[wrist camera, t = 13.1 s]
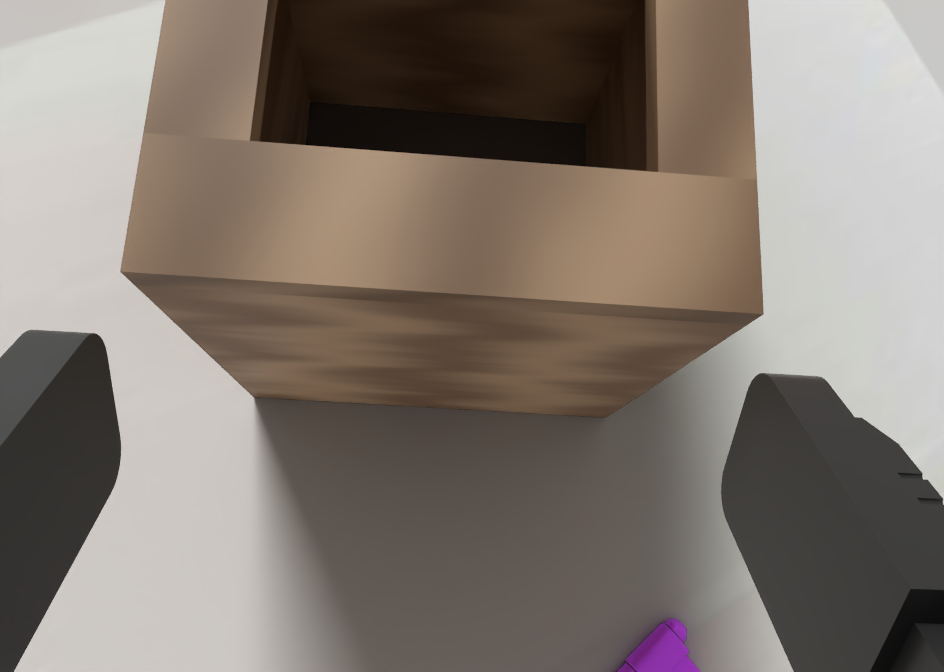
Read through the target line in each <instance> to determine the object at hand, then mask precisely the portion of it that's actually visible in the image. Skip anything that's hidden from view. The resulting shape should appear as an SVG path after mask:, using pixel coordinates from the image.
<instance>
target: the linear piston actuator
mask: <svg viewBox="0 0 944 672" xmlns="http://www.w3.org/2000/svg"><path fill="white" fill-rule="evenodd" d="M686 638H687V629H686V627H685V626H684V625H683V624H682V623H681V622H680V621H679V620H677V619H668V620H667V621H666V622H665V623H661V624H660V625H659V626H658V627H657V628H656V629H655V630H654V631H653V632H652V633H651V634H650V635H649V636H648V637H647V638H646V639H645V640H644V641H643V642H642V643H641V644H640V645H639V646H638V647H637V648H636V649H635V650H634V651H633V652H632V653H631V654H630V655H629V656H628V657H627V658H626V659H625V661H626V662H625V664H624V665H623V666H622V667H621V668H620V669H619V670H618V671H617V672H700V671H699V670H698V669H697V667H696V666H695V665H694V664H693V663H692V661H691V660H690V659H689V658H688V657H687V654H688V653H689V650H688V649H687V647H686V646H685V645H684V644H683V642H684V641H685V640H686Z"/></svg>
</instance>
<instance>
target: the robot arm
mask: <svg viewBox="0 0 944 672" xmlns="http://www.w3.org/2000/svg"><path fill="white" fill-rule="evenodd" d="M120 458H121V440H120V433H119V426H118V420H117V414H116V407H115V401H114V395H113V389H112V382H111V376H110V370H109V363H108V357H107V352H106V348H105V345H104V342H103V340H102V339H101V337H100V336H99V335H97V334H94V333H78V332H61V331H43V330H28V331H26V332H25V333H23V334H22V335H21V336H20V337H19V338H18V339H17V340H16V342H15V343H14V344H13V345H12V346H11V347H10V348H9V349H8V350H7V351H6V352H5V353H4V354H3V355H2V357H1V358H0V672H14V670H15V668H16V666H17V665H18V663H19V661H20V659H21V657H22V655H23V654H24V652H25V650H26V648H27V646H28V644H29V643H30V641H31V639H32V637H33V635H34V633H35V632H36V630H37V628H38V626H39V624H40V622H41V621H42V619H43V617H44V615H45V613H46V611H47V610H48V608H49V606H50V604H51V602H52V600H53V599H54V597H55V595H56V593H57V591H58V589H59V587H60V586H61V584H62V582H63V580H64V578H65V576H66V575H67V573H68V571H69V569H70V567H71V565H72V564H73V562H74V560H75V558H76V556H77V554H78V553H79V551H80V549H81V547H82V545H83V543H84V542H85V540H86V538H87V536H88V534H89V532H90V531H91V529H92V527H93V525H94V523H95V521H96V520H97V518H98V516H99V514H100V512H101V510H102V509H103V507H104V505H105V503H106V501H107V499H108V498H109V496H110V494H111V492H112V490H113V488H114V485H115V482H116V479H117V476H118V471H119V466H120ZM721 494H722V505H723V510H724V514H725V518H726V520H727V523H728V525H729V527H730V529H731V532H732V534H733V536H734V538H735V541H736V543H737V545H738V547H739V550H740V552H741V554H742V556H743V559H744V561H745V563H746V565H747V568H748V570H749V572H750V574H751V577H752V579H753V581H754V583H755V586H756V588H757V590H758V592H759V594H760V597H761V599H762V601H763V603H764V606H765V608H766V610H767V612H768V615H769V617H770V619H771V621H772V624H773V626H774V628H775V630H776V633H777V635H778V637H779V639H780V642H781V644H782V646H783V648H784V651H785V653H786V655H787V657H788V660H789V662H790V664H791V666H792V669H793V671H794V672H944V505H943V502H942V501H943V498H942V497H941V496H940V495H939V493H938V492H937V491H936V490H935V488H934V487H933V486H932V485H931V484H930V482H929V481H928V480H923V479H922V472H921V471H920V470H919V469H918V468H917V466H916V465H915V464H914V463H913V461H912V460H911V459H910V458H909V456H908V455H907V454H906V453H905V452H904V450H903V449H902V448H901V447H900V445H899V444H898V443H896V442H895V441H893V440H892V439H891V438H889V437H888V436H886V435H885V434H884V433H882V432H881V431H879V430H878V429H877V428H875V427H874V426H872V425H871V424H870V423H868V422H867V421H865V420H864V419H863V418H855V417H854V416H853V415H852V413H851V412H850V411H849V409H848V408H847V407H846V406H845V404H844V403H843V402H842V400H841V399H840V398H839V397H838V395H837V394H836V393H835V391H834V390H833V389H832V387H831V386H830V385H829V384H828V382H827V381H826V380H825V379H823V378H822V377H818V376H802V375H784V374H767V373H761V374H758V375H757V376H756V377H755V378H754V379H753V380H752V382H751V384H750V386H749V388H748V391H747V394H746V398H745V401H744V404H743V408H742V411H741V414H740V417H739V421H738V424H737V427H736V431H735V434H734V437H733V441H732V444H731V447H730V451H729V454H728V457H727V460H726V464H725V467H724V471H723V476H722V487H721Z"/></svg>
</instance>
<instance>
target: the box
mask: <svg viewBox="0 0 944 672" xmlns="http://www.w3.org/2000/svg"><path fill="white" fill-rule="evenodd" d="M310 102H317V103H329V104H342V105H354V106H367V107H380V108H392V109H405V110H417V111H430V112H442V113H455V114H468V115H480V116H493V117H505V118H518V119H530V120H543V121H555V122H568V123H581V124H586V167H585V166H572V165H558V164H545V163H532V162H519V161H506V160H493V159H480V158H467V157H454V156H441V155H428V154H414V153H401V152H388V151H375V150H362V149H349V148H336V147H323V146H310V145H306V136H307V126H308V117H309V108H310ZM120 272H121V273H122V274H123V275H125V276H126V277H127V278H128V279H129V280H130V281H131V282H132V283H133V284H134V285H135V286H136V287H137V288H138V289H139V290H140V291H142V292H143V293H144V294H145V295H146V296H147V297H148V298H149V299H150V300H151V301H152V302H153V303H154V304H155V305H156V306H157V307H159V308H160V309H161V310H162V311H163V312H164V313H165V314H166V315H167V316H168V317H169V318H170V319H171V320H172V321H173V322H174V323H176V324H177V325H178V326H179V327H180V328H181V329H182V330H183V331H184V332H185V333H186V334H187V335H188V336H189V337H190V338H191V339H192V340H194V341H195V342H196V343H197V344H198V345H199V346H200V347H201V348H202V349H203V350H204V351H205V352H206V353H207V354H208V355H209V356H211V357H212V358H213V359H214V360H215V361H216V362H217V363H218V364H219V365H220V366H221V367H222V368H223V369H224V370H225V371H226V372H228V373H229V374H230V375H231V376H232V377H233V378H234V379H235V380H236V381H237V382H238V383H239V384H240V385H241V386H242V387H243V388H245V389H246V390H247V391H248V392H249V393H250V394H251V395H252V396H253V397H260V398H277V399H295V400H312V401H329V402H347V403H364V404H381V405H399V406H416V407H433V408H451V409H468V410H485V411H503V412H520V413H537V414H555V415H572V416H589V417H607V416H609V415H611V414H612V413H614V412H615V411H617V410H618V409H620V408H621V407H623V406H624V405H626V404H627V403H629V402H630V401H632V400H633V399H635V398H636V397H638V396H639V395H641V394H643V393H644V392H646V391H647V390H649V389H650V388H652V387H653V386H655V385H656V384H658V383H659V382H661V381H662V380H664V379H665V378H667V377H668V376H670V375H671V374H673V373H675V372H676V371H678V370H679V369H681V368H682V367H684V366H685V365H687V364H688V363H690V362H691V361H693V360H694V359H696V358H697V357H699V356H700V355H702V354H703V353H705V352H707V351H708V350H710V349H711V348H713V347H714V346H716V345H717V344H719V343H720V342H722V341H723V340H725V339H726V338H728V337H729V336H731V335H732V334H734V333H735V332H737V331H739V330H740V329H742V328H743V327H745V326H746V325H748V324H749V323H751V322H752V321H754V320H755V319H757V318H758V317H760V316H761V315H763V294H762V274H761V253H760V233H759V213H758V192H757V172H756V152H755V131H754V111H753V91H752V70H751V50H750V30H749V9H748V0H166V1H165V7H164V13H163V19H162V25H161V31H160V37H159V43H158V49H157V55H156V61H155V67H154V73H153V79H152V85H151V91H150V97H149V103H148V109H147V115H146V121H145V127H144V133H143V139H142V145H141V151H140V157H139V163H138V169H137V175H136V181H135V187H134V193H133V199H132V205H131V211H130V216H129V222H128V228H127V234H126V240H125V246H124V252H123V258H122V264H121V270H120Z"/></svg>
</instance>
